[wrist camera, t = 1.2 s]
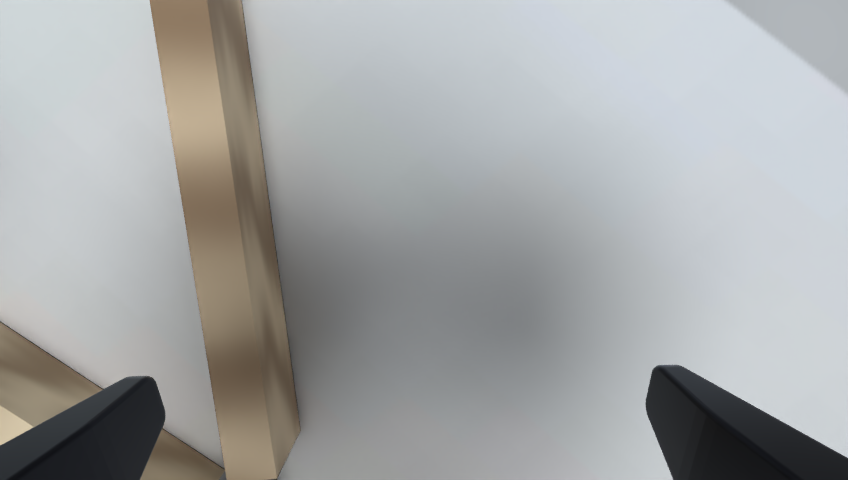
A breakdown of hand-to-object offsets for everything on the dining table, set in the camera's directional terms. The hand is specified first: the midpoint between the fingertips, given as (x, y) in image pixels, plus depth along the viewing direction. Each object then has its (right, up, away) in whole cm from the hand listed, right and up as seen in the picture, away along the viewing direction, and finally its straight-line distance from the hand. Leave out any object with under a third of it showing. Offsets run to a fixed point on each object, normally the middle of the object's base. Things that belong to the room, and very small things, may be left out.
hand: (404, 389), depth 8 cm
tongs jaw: (-8, +4, +12) cm, 15 cm away
